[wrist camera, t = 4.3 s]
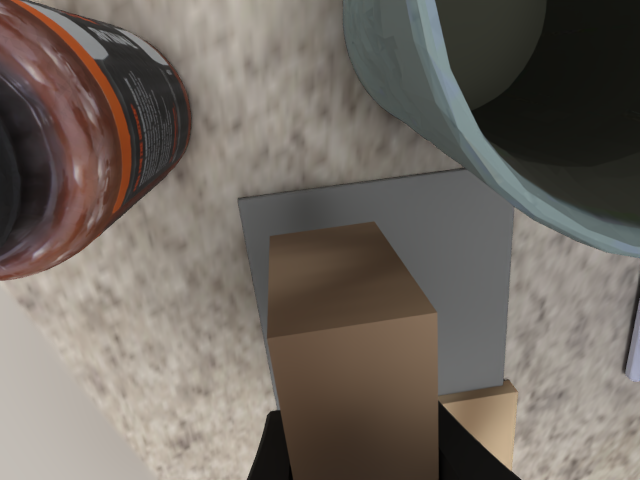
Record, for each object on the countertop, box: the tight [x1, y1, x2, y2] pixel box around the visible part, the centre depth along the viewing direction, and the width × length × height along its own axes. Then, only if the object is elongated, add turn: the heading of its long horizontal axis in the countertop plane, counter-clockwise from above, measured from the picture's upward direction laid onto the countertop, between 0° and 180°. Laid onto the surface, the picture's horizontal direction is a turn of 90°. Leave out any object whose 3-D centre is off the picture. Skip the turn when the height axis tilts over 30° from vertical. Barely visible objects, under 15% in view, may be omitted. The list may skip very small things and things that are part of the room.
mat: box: [238, 168, 514, 410], centre depth 22 cm, size 12×21×1 cm, turn 6°
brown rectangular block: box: [267, 221, 439, 480], centre depth 11 cm, size 3×10×5 cm, turn 6°
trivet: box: [438, 380, 518, 471], centre depth 24 cm, size 6×10×1 cm, turn 6°
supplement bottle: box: [0, 0, 191, 281], centre depth 11 cm, size 6×6×11 cm
